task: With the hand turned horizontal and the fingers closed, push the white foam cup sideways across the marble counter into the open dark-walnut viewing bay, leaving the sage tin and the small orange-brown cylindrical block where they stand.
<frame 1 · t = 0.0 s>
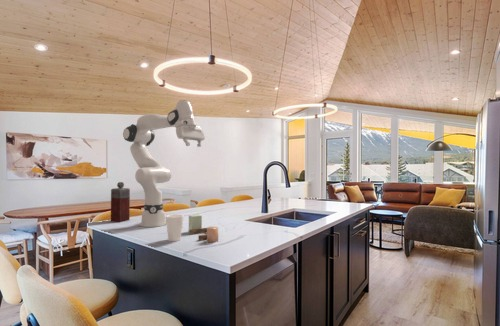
hand: (193, 146, 168), 52 cm above the worktop, tool tilted 20°, fingers open, 8 cm apart
orange-brown cylindrical block: (212, 240, 149), on the worktop
bay: (199, 236, 158), on the worktop
foam cup: (174, 240, 151), on the worktop
sage tin: (195, 231, 169), on the worktop
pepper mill: (118, 220, 203), on the worktop
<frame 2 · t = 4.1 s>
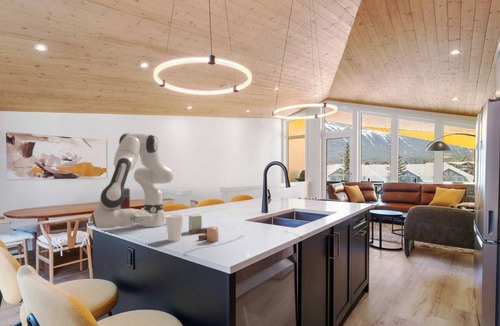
hand: (157, 215, 146), 14 cm above the worktop, tool horizontal, fingers closed
nothing on the worktop moved.
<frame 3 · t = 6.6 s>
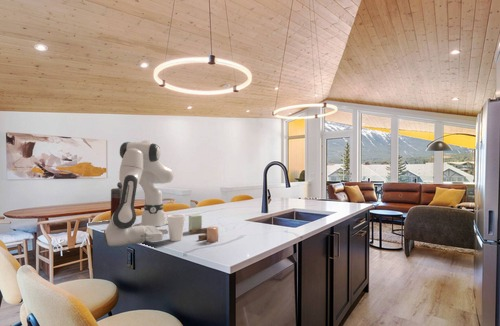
hand: (167, 231, 149), 5 cm above the worktop, tool horizontal, fingers closed, pressing on foam cup
foam cup: (175, 239, 151), on the worktop, touching gripper
everything else where it was.
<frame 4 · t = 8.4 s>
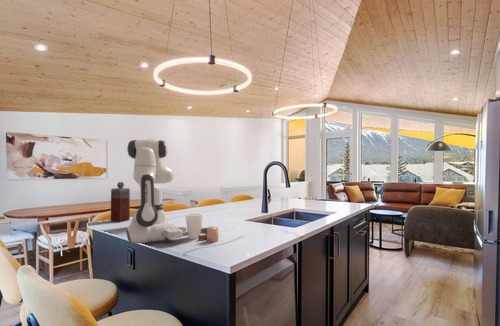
hand: (185, 229, 154), 5 cm above the worktop, tool horizontal, fingers closed, pressing on foam cup
foam cup: (194, 237, 156), on the worktop, touching gripper
everything else where it was.
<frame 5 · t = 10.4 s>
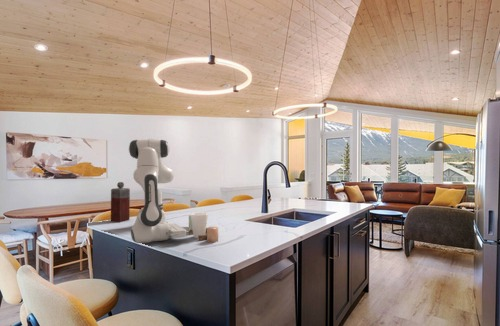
hand: (189, 228, 155), 5 cm above the worktop, tool horizontal, fingers closed
foam cup: (199, 237, 157), on the worktop
everything else where it was.
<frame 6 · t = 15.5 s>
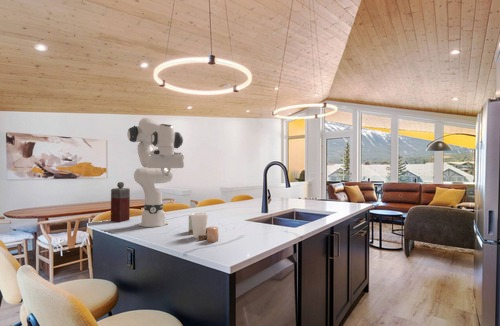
hand: (165, 176, 160), 34 cm above the worktop, tool pointing down, fingers closed
nothing on the worktop moved.
at the end: foam cup 0.8 cm from the bay (horizontally); foam cup tilted 0°; foam cup moved 13.9 cm from its start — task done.
